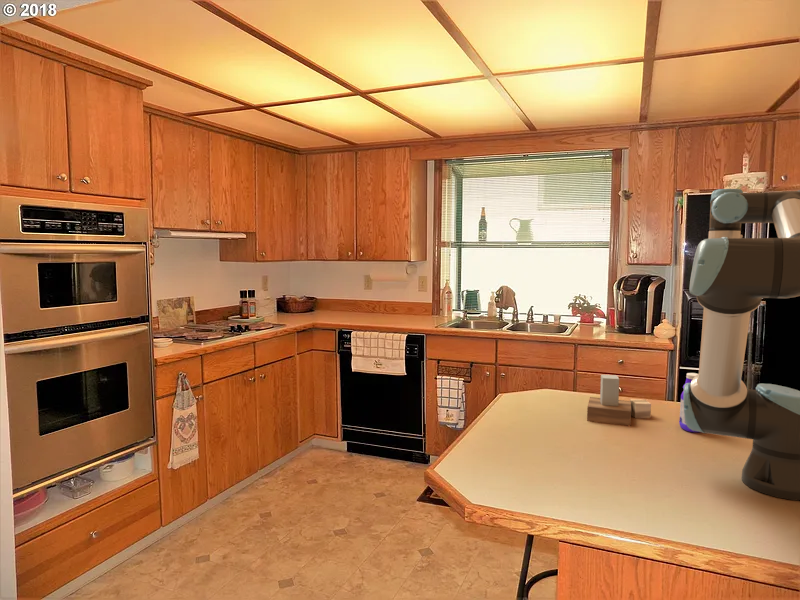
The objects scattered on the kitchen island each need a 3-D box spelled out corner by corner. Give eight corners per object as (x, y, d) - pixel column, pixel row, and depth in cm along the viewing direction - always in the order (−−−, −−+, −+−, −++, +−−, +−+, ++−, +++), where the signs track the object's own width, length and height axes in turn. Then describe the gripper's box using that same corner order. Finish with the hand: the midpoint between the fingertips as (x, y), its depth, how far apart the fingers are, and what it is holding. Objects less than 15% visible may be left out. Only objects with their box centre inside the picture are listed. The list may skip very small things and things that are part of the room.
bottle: (706, 433, 167) (709, 376, 165) (687, 433, 167) (690, 376, 166) (693, 426, 174) (697, 371, 173) (675, 425, 174) (678, 371, 173)
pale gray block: (618, 406, 179) (619, 378, 178) (602, 405, 180) (602, 378, 179) (615, 401, 184) (616, 375, 183) (600, 401, 185) (600, 374, 184)
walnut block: (630, 427, 174) (631, 411, 174) (586, 421, 179) (587, 406, 178) (630, 415, 186) (630, 401, 186) (589, 411, 191) (589, 396, 190)
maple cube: (650, 418, 182) (651, 403, 182) (635, 418, 182) (635, 403, 182) (644, 414, 187) (644, 399, 187) (629, 413, 187) (629, 399, 187)
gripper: (755, 246, 138) (750, 331, 140) (725, 247, 162) (720, 319, 164) (722, 246, 140) (717, 329, 142) (696, 247, 164) (692, 318, 166)
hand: (718, 324), depth 153 cm, fingers open, 13 cm apart
